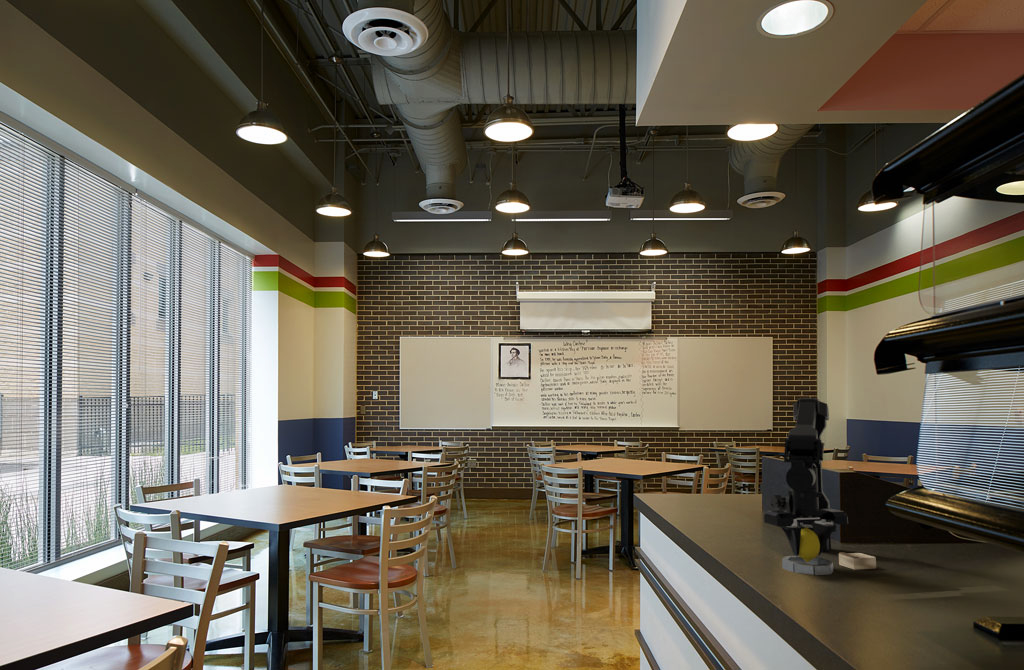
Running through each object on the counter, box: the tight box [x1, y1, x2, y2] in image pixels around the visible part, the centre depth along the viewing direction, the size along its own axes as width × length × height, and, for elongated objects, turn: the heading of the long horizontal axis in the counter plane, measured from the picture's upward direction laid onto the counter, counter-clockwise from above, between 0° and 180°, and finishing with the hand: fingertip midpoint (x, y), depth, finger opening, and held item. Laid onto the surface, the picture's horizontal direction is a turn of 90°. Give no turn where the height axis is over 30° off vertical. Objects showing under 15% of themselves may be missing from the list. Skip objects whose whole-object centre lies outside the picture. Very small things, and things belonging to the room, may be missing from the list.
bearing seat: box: [781, 555, 834, 576], centre depth 157 cm, size 10×10×2 cm
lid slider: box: [838, 551, 877, 571], centre depth 160 cm, size 6×5×3 cm
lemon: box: [798, 527, 820, 562], centre depth 157 cm, size 6×6×8 cm
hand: (807, 555), depth 157 cm, fingers closed on lemon, 5 cm apart
